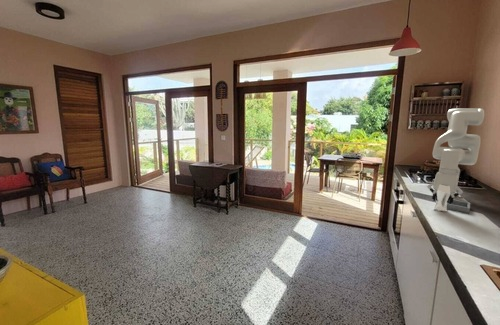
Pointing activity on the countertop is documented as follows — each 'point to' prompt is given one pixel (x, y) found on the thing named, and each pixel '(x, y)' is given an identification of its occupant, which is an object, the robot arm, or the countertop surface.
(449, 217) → the countertop surface
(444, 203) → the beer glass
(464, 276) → the countertop surface
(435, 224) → the countertop surface
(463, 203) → the tray
